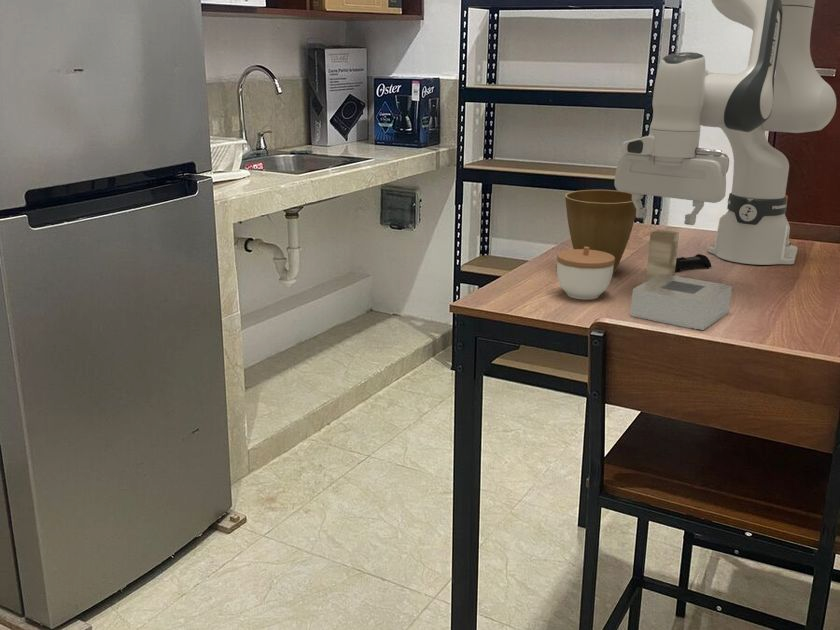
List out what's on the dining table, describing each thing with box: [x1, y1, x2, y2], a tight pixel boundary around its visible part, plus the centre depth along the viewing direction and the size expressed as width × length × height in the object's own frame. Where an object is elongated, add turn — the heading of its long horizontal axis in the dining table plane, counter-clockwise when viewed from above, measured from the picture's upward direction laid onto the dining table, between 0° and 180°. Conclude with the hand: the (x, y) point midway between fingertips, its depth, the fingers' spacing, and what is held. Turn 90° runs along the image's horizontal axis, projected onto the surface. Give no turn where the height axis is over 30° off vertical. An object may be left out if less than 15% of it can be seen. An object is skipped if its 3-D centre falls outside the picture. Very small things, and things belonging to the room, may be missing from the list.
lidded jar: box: [556, 247, 615, 301], centre depth 160 cm, size 11×11×9 cm
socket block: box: [630, 274, 733, 331], centre depth 150 cm, size 13×13×5 cm
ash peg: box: [645, 229, 680, 282], centre depth 161 cm, size 4×4×12 cm
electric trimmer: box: [675, 253, 712, 273], centre depth 180 cm, size 4×16×3 cm, turn 113°
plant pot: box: [564, 189, 636, 274], centre depth 176 cm, size 15×15×16 cm
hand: (664, 221), depth 158 cm, fingers open, 8 cm apart
